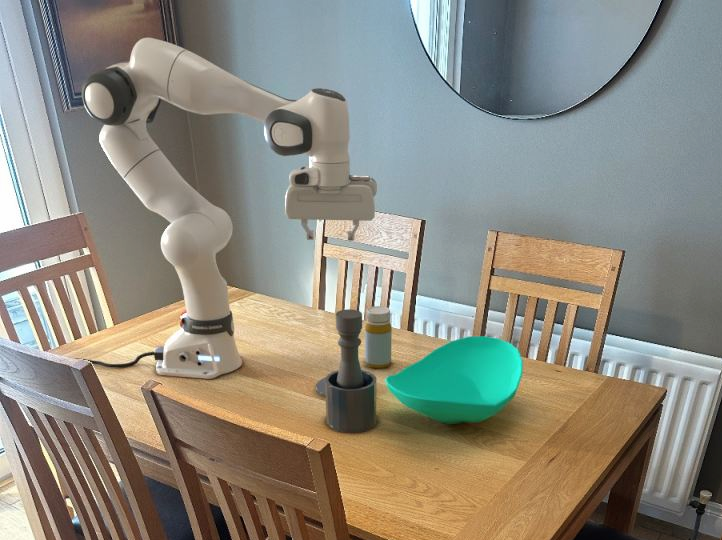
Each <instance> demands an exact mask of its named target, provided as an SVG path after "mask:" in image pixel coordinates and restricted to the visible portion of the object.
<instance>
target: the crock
mask: <svg viewBox="0 0 722 540" xmlns="http://www.w3.org/2000/svg"><path fill="white" fill-rule="evenodd" d="M361 371H362V375H363V379H364V383H363V386H362V388H357V389H343V388H339V387H338V385H337V376H338V372H339V369H338V371H337V370H335V371H332V372H330V373H328V374H327V375H326V376H325V377H324V378H325V394H326V396H325V409H326V410H325V415H326V416H325V417H326V424H327V426H328V427H329V428H330V429H332V430H334V431H336V432H340V433H345V434H355V433H362V432H366V431H368V430H371V429H372V428H373V427H374V426H375V425H376V424H377V377H376V376H375V374H374V373H372V372H370V371H368V370H364V369H361Z"/></svg>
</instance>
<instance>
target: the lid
mask: <svg viewBox="0 0 722 540" xmlns="http://www.w3.org/2000/svg"><path fill="white" fill-rule="evenodd" d="M338 370H339V369H338ZM338 370H336V371H338ZM325 378H326V377H323V378H321V379H320V380H318V381H316V384H315V390H316V392H317V393H318V394H320V395H321V396H324V397H326V394H325Z"/></svg>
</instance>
